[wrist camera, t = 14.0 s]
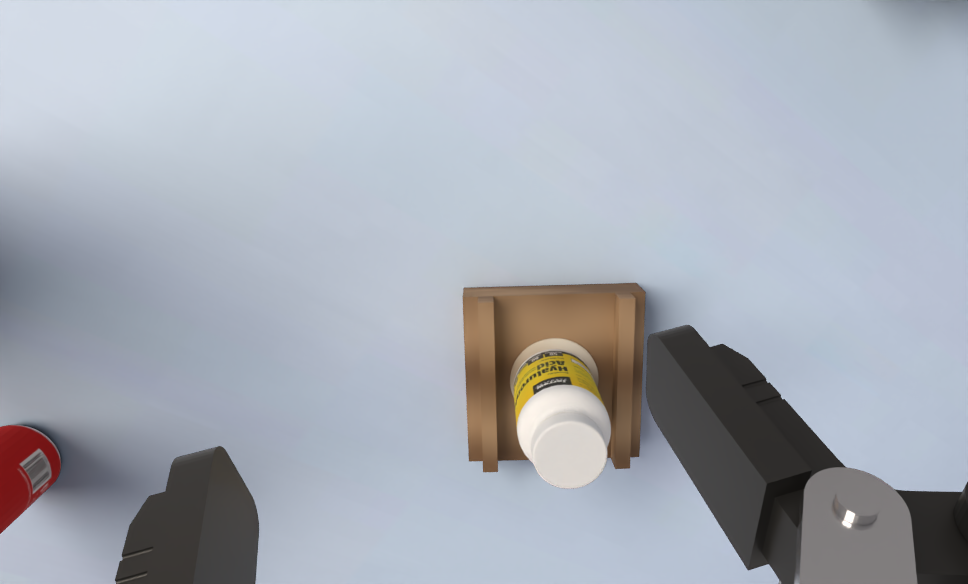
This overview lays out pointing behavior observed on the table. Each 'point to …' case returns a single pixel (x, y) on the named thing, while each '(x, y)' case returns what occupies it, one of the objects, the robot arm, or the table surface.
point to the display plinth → (551, 325)
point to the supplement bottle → (561, 418)
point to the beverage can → (24, 469)
